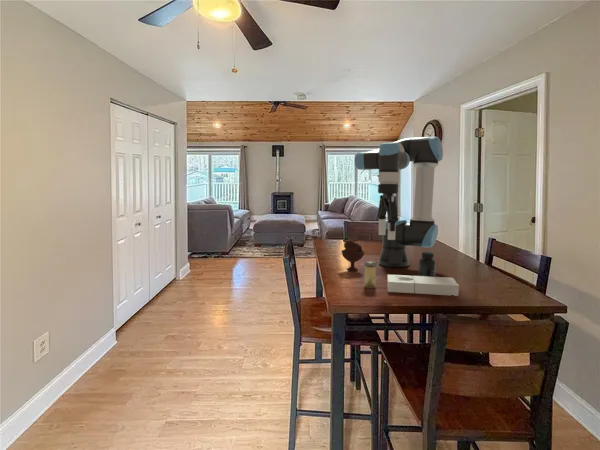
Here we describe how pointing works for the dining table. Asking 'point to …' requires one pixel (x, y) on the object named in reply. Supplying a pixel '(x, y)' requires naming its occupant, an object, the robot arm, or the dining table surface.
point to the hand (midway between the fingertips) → (386, 237)
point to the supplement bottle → (427, 265)
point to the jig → (422, 285)
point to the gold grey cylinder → (370, 274)
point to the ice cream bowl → (352, 253)
